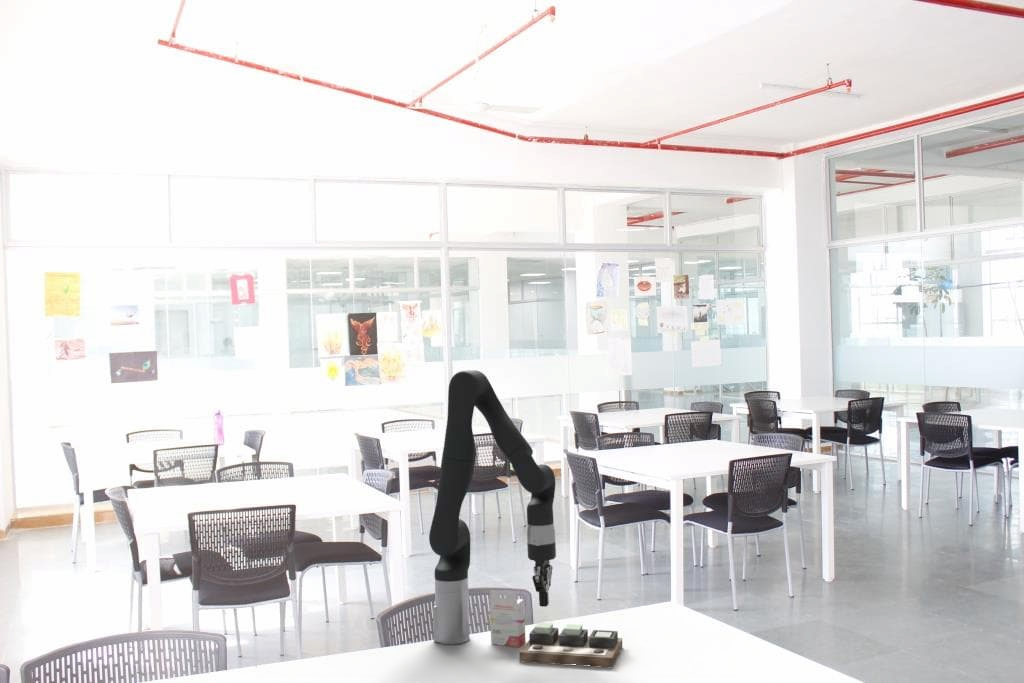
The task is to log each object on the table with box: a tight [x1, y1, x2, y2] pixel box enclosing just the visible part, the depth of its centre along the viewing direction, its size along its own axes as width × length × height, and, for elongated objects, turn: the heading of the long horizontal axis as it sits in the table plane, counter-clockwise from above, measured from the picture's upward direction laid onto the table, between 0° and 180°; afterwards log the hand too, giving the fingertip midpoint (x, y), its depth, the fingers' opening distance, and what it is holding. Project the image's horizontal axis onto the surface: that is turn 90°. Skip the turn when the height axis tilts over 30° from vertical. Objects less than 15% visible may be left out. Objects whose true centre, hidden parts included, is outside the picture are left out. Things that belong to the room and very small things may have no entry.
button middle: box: [563, 623, 583, 636], centre depth 246 cm, size 4×4×2 cm
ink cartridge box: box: [489, 590, 527, 648], centre depth 255 cm, size 9×5×15 cm, turn 68°
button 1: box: [534, 622, 554, 634], centre depth 248 cm, size 4×4×2 cm
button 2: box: [594, 632, 612, 638], centre depth 244 cm, size 4×4×2 cm
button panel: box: [519, 627, 623, 668], centre depth 244 cm, size 24×16×5 cm, turn 74°
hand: (544, 605), depth 248 cm, fingers closed
